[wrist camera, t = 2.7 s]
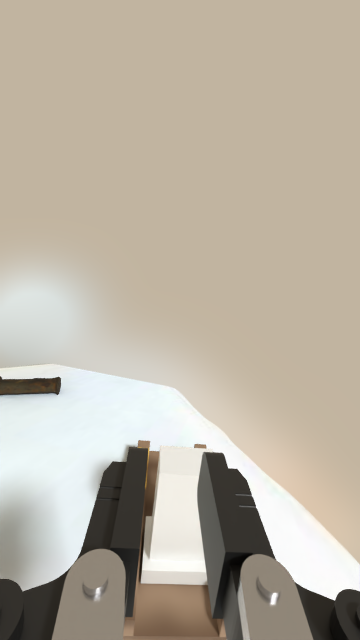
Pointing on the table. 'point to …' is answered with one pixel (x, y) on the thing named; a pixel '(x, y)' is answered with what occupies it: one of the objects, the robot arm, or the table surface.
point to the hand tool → (30, 385)
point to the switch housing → (168, 592)
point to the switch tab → (175, 521)
